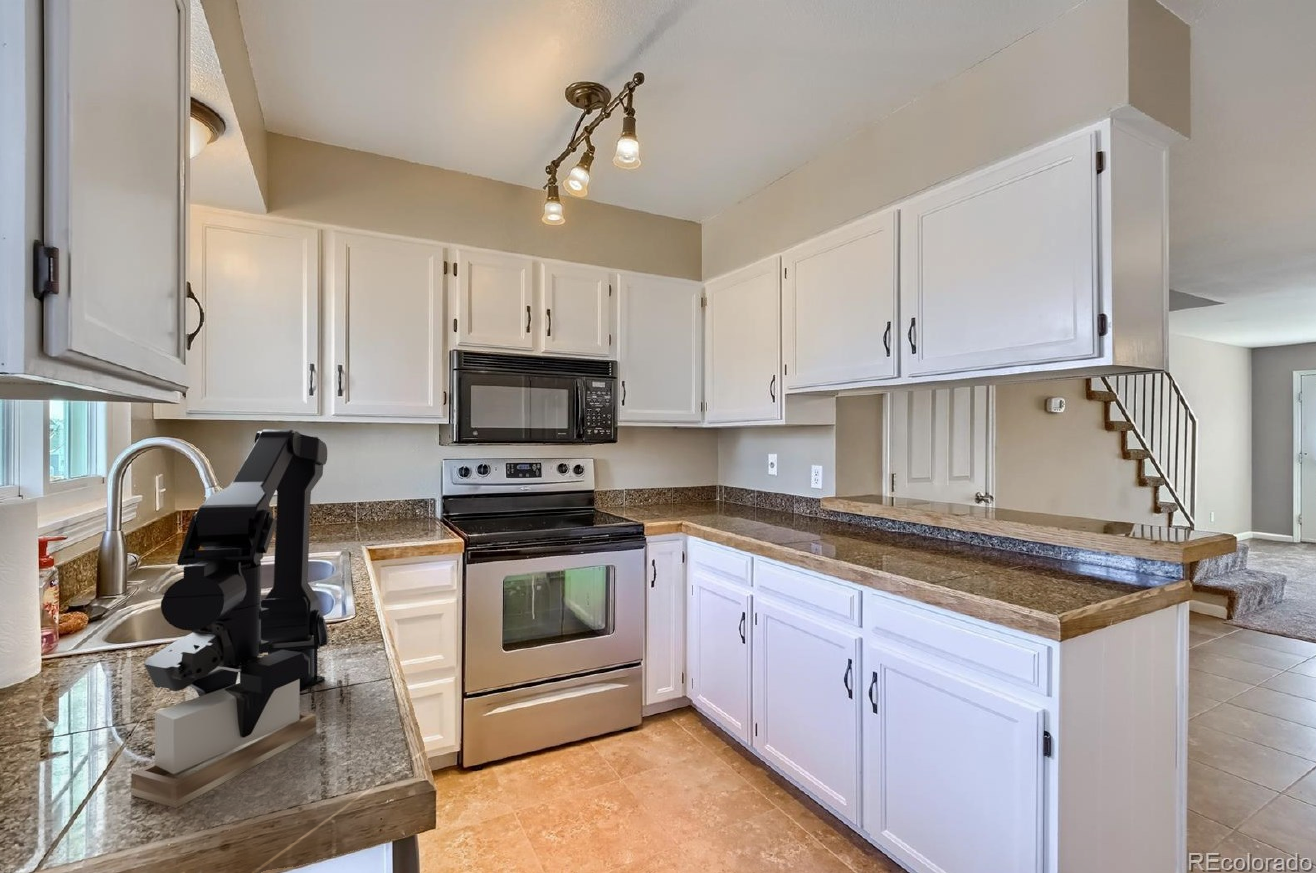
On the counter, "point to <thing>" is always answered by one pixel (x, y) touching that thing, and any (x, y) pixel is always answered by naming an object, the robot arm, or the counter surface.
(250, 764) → the brown rectangular tray
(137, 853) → the counter surface
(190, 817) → the counter surface
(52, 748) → the counter surface
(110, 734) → the counter surface
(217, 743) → the white rectangular block
